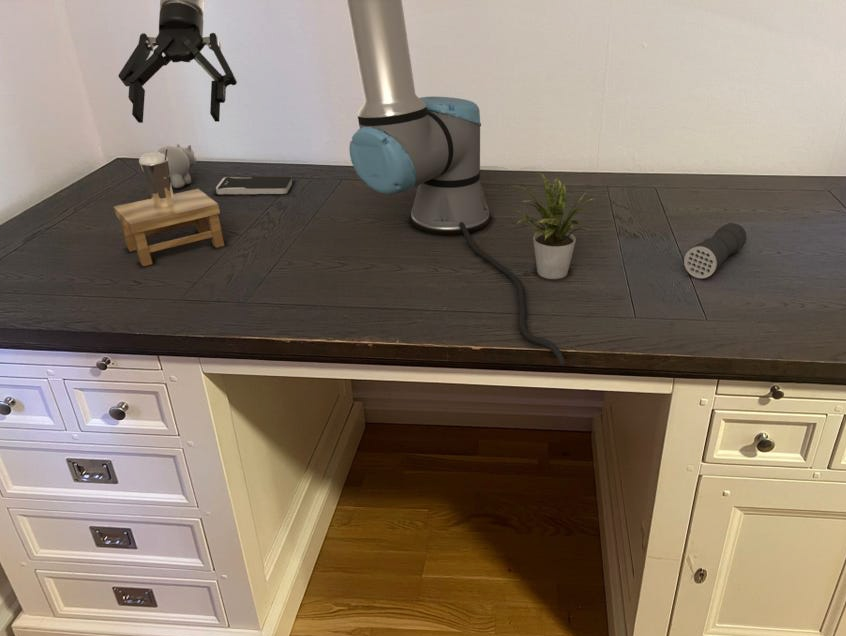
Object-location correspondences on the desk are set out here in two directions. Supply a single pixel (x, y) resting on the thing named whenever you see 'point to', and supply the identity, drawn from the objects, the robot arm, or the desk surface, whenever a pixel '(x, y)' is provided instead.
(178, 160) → the round bodied animal figurine
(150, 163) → the milkshake
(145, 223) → the stool
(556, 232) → the house plant
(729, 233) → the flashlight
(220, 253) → the desk surface
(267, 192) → the smartphone
